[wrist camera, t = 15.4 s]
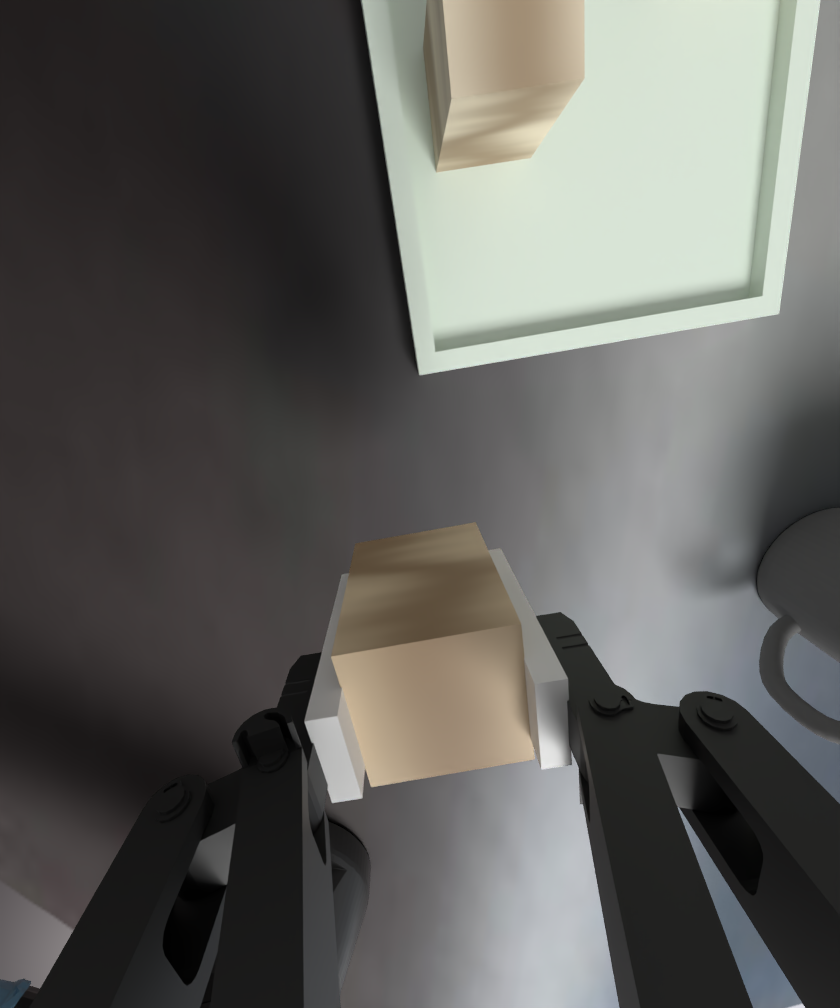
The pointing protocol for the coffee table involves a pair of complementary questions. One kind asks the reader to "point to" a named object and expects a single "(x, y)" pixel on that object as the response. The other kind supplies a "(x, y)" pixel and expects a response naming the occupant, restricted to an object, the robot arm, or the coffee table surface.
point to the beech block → (499, 75)
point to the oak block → (431, 657)
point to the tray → (605, 183)
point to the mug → (802, 607)
